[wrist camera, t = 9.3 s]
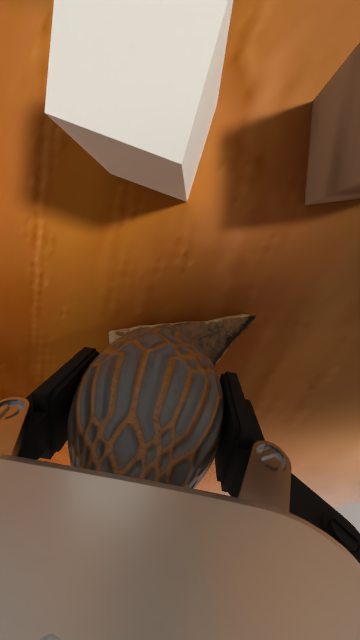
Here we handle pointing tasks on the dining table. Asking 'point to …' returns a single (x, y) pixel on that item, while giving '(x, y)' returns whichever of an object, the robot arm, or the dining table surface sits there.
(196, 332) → the shard
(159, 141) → the cream block
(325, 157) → the grayish brown block
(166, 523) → the robot arm
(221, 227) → the dining table surface
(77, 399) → the vase
